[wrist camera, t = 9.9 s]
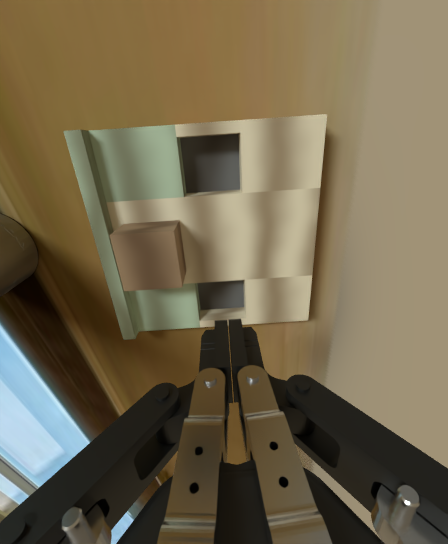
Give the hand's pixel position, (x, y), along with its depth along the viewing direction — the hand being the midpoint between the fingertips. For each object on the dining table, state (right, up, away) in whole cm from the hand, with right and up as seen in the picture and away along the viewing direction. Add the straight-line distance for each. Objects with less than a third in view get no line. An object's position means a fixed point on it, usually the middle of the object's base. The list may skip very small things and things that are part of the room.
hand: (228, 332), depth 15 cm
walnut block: (-8, +6, +14) cm, 18 cm away
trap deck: (-2, +8, +17) cm, 19 cm away
